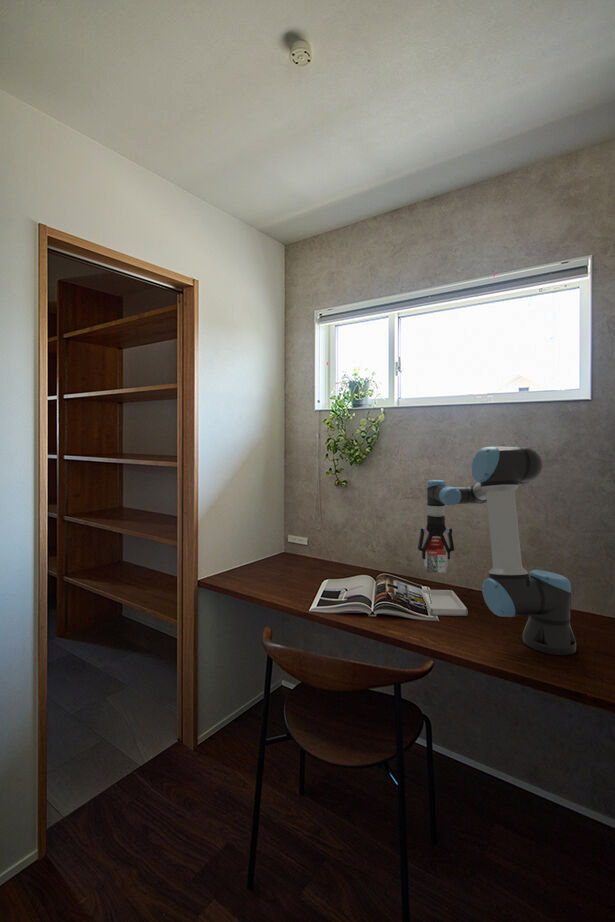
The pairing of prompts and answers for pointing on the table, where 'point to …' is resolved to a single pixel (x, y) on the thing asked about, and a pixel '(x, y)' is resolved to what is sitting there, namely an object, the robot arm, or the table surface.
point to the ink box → (436, 556)
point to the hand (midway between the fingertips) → (435, 566)
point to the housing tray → (444, 603)
